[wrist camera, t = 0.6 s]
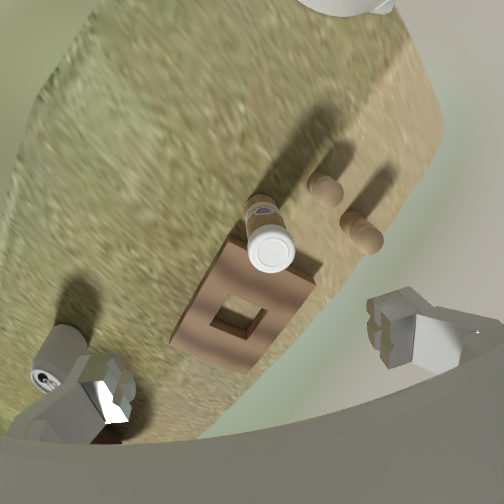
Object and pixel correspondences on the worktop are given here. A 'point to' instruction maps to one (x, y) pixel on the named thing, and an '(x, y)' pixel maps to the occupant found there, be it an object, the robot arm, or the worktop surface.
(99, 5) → the worktop surface
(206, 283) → the walnut board
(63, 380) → the can
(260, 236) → the sprinkles bottle
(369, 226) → the medium beech dowel
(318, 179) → the short beech dowel
